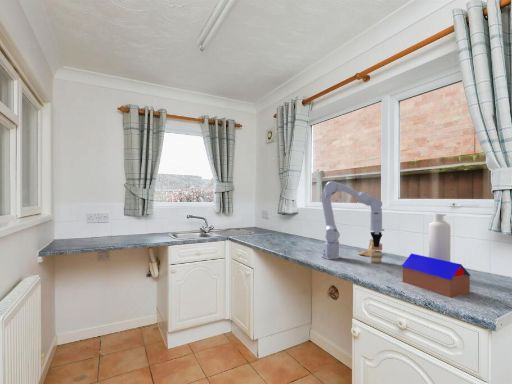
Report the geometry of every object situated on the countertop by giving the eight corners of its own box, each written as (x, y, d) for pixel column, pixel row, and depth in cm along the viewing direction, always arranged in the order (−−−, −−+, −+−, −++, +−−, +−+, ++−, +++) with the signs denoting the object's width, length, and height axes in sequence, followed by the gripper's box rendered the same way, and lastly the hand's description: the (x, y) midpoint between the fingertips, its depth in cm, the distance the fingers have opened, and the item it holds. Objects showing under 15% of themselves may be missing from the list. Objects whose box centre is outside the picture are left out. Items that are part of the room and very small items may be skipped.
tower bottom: (381, 264, 148) (381, 258, 148) (371, 263, 149) (371, 257, 149) (380, 261, 152) (380, 256, 152) (370, 261, 154) (370, 255, 154)
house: (450, 298, 99) (450, 265, 99) (401, 282, 117) (401, 254, 117) (471, 294, 104) (471, 262, 104) (420, 278, 122) (420, 252, 122)
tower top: (381, 258, 148) (381, 252, 148) (371, 257, 149) (371, 252, 149) (380, 256, 152) (380, 250, 152) (371, 255, 154) (371, 250, 154)
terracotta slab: (382, 250, 148) (382, 244, 148) (371, 249, 149) (371, 244, 149) (381, 248, 152) (381, 243, 152) (371, 248, 154) (371, 242, 154)
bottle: (443, 280, 120) (443, 215, 120) (425, 275, 127) (425, 213, 127) (454, 277, 123) (454, 214, 124) (435, 273, 131) (435, 213, 131)
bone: (385, 251, 172) (377, 255, 160) (373, 260, 176) (364, 264, 165) (373, 237, 176) (364, 240, 165) (362, 246, 181) (352, 250, 170)
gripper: (385, 222, 143) (385, 249, 143) (383, 220, 156) (383, 244, 156) (370, 221, 145) (370, 248, 145) (369, 219, 159) (369, 243, 159)
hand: (376, 246), depth 151 cm, fingers closed on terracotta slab, 5 cm apart
